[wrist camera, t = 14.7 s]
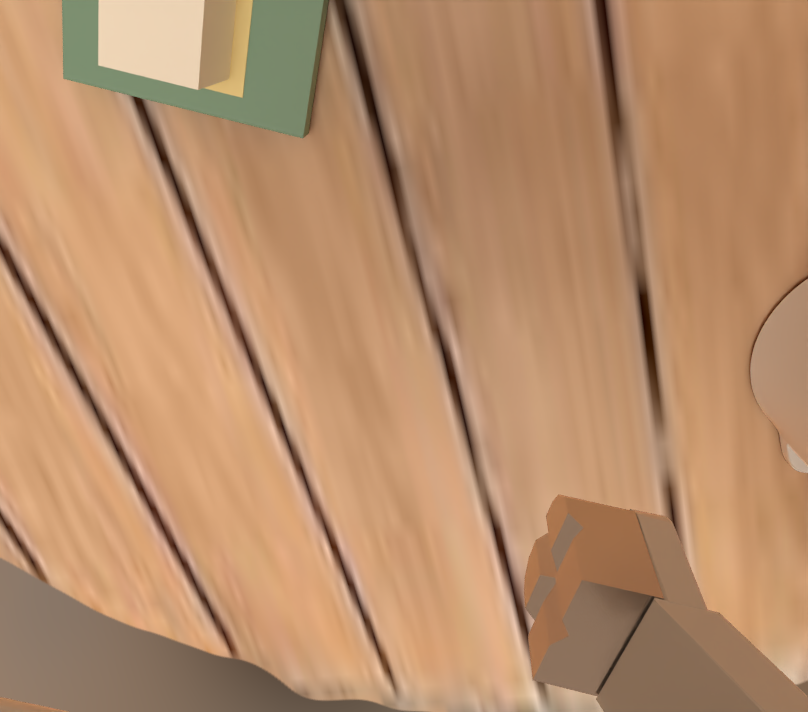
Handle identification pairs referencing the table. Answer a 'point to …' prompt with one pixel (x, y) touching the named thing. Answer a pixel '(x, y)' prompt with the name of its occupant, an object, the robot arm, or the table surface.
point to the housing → (168, 39)
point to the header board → (249, 71)
